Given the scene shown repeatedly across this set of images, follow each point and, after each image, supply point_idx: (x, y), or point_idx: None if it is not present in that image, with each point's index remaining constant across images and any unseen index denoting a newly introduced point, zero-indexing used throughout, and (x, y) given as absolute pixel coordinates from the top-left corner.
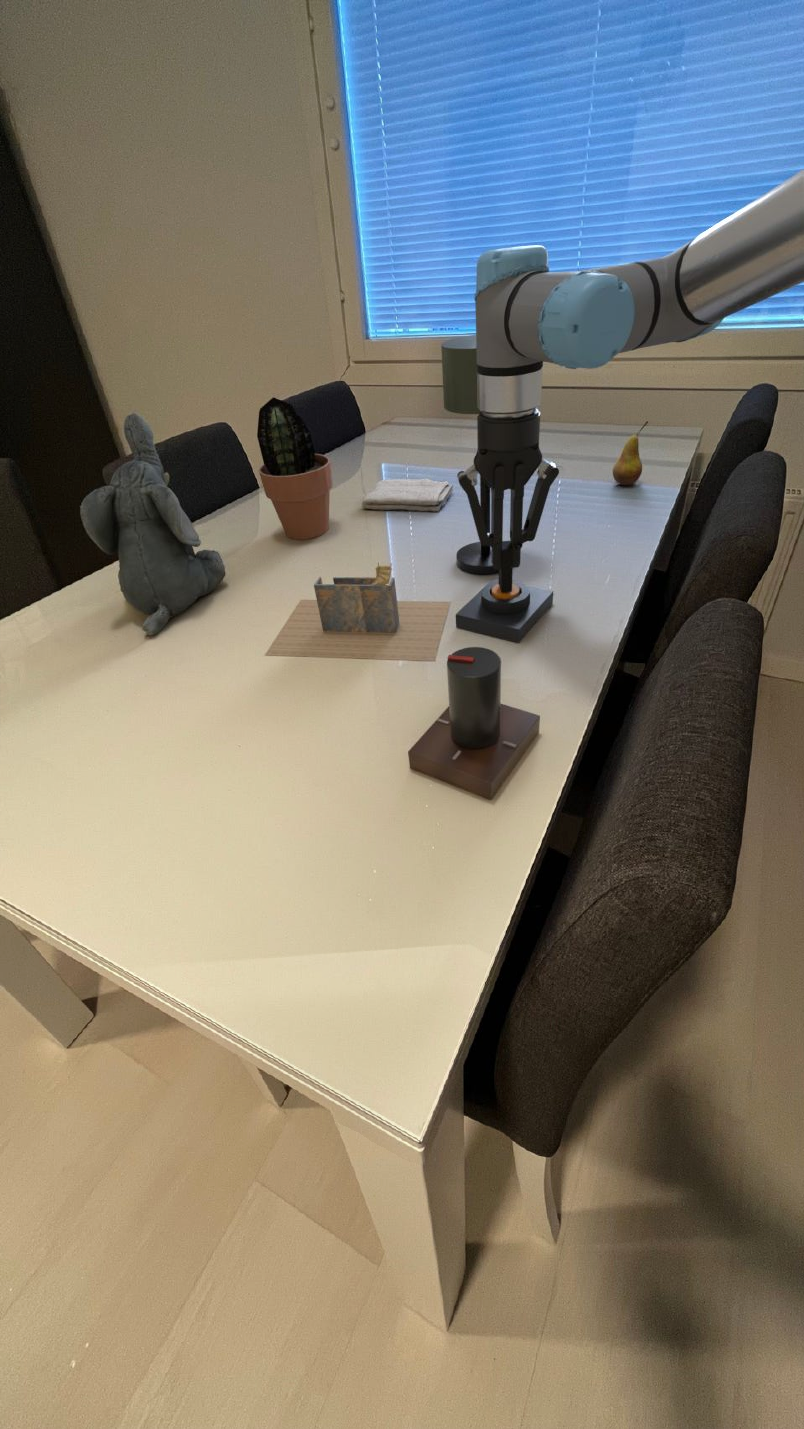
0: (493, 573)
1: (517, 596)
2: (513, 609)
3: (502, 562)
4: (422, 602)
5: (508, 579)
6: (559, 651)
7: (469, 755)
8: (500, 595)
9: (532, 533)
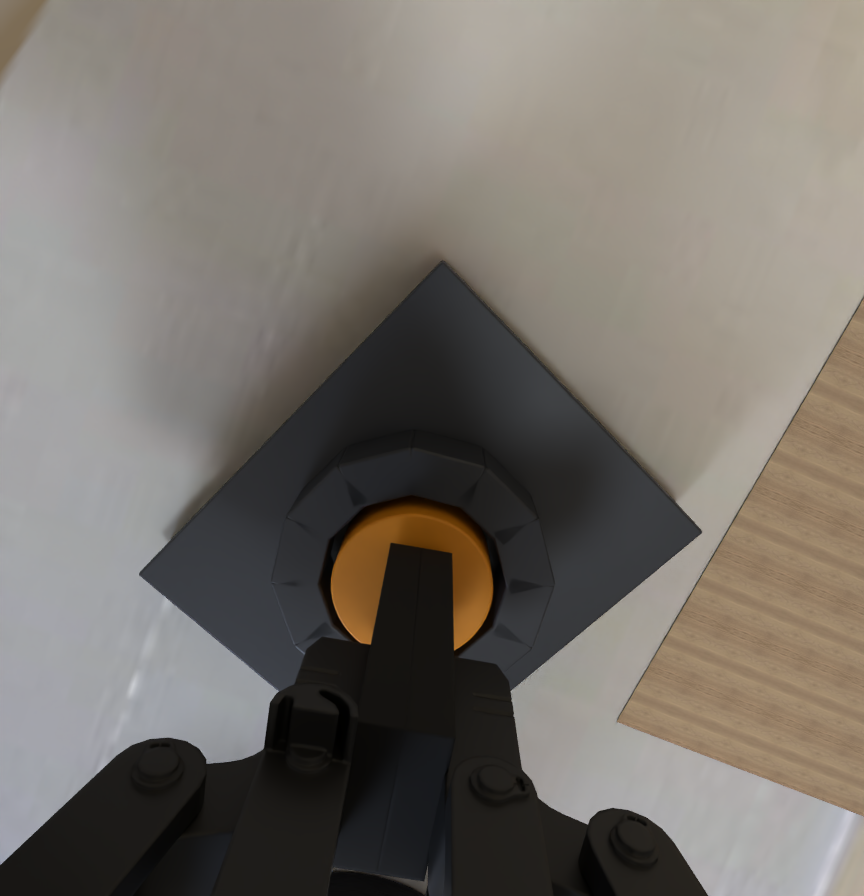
0: (346, 875)
1: (361, 521)
2: (413, 437)
3: (449, 665)
4: (740, 759)
5: (408, 583)
6: (274, 113)
7: None
8: (463, 537)
9: (122, 796)
